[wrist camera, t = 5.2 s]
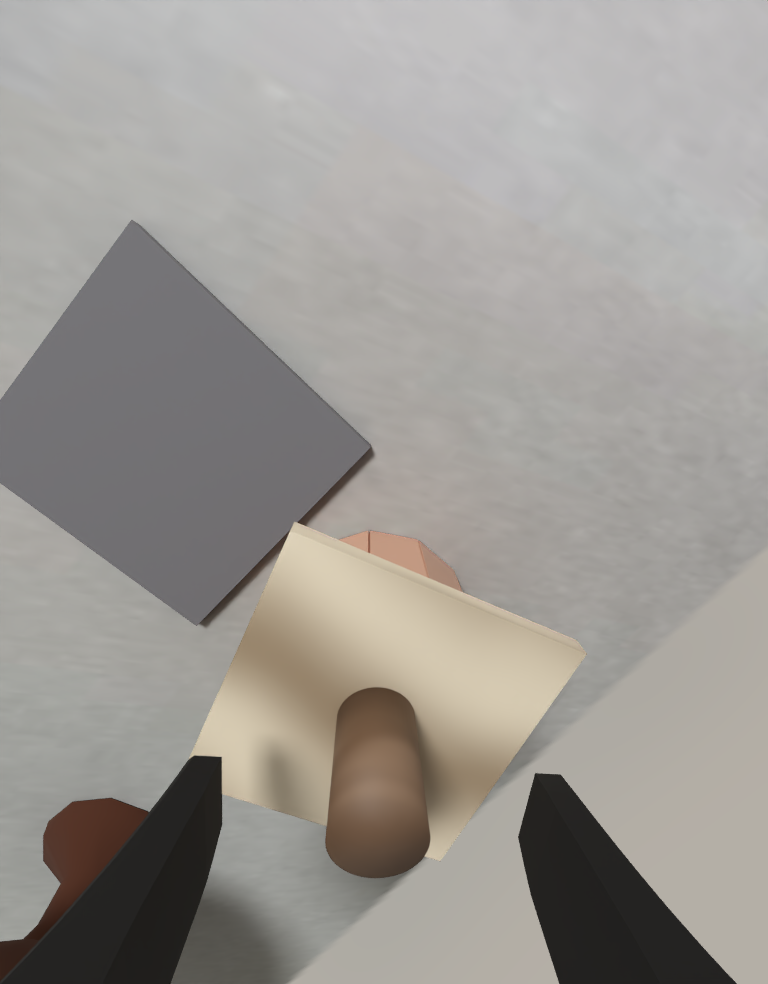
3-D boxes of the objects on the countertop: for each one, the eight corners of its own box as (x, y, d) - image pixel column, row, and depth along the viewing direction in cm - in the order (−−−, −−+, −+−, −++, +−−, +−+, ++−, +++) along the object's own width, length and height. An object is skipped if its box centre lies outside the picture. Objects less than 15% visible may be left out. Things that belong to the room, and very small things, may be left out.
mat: (138, 224, 13) (131, 219, 12) (370, 444, 15) (371, 446, 15) (-29, 452, 15) (-40, 454, 14) (200, 620, 17) (196, 625, 16)
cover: (294, 521, 11) (256, 601, 7) (576, 640, 12) (664, 758, 9) (187, 761, 13) (116, 916, 9) (437, 841, 14) (460, 1004, 11)
